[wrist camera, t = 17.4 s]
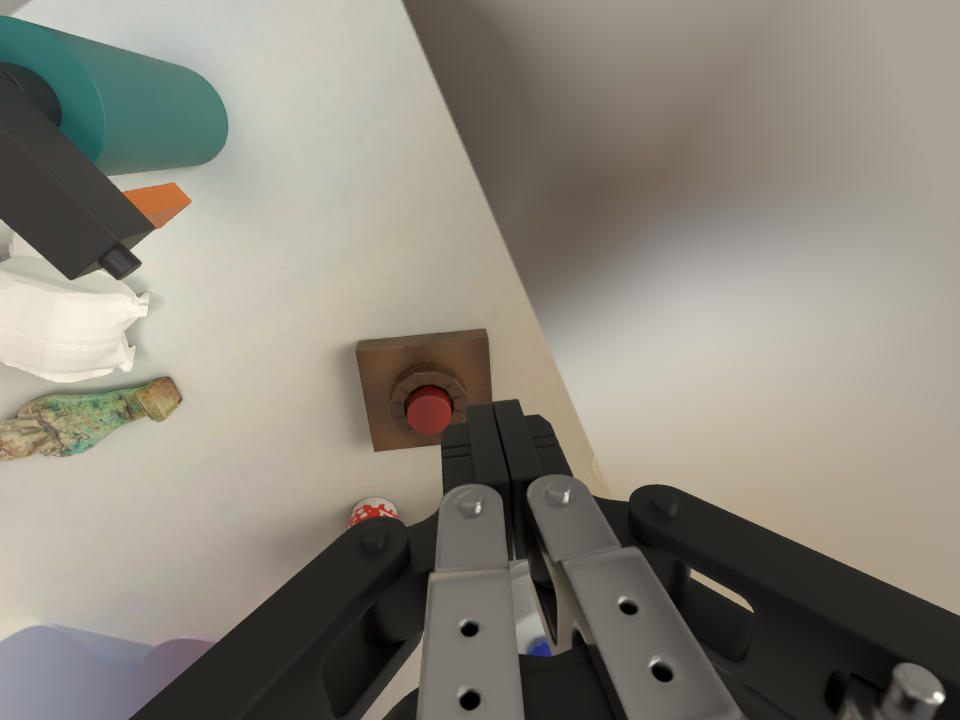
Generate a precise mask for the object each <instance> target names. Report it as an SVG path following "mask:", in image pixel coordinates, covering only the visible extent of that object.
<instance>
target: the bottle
mask: <svg viewBox="0 0 960 720" xmlns="http://www.w3.org/2000/svg"><path fill="white" fill-rule="evenodd" d="M513 560H514V561H509V567H510V575H511V585H512V596H513V606H514V616H515V626H516V636H517V647H518V654H527V655H536V656H546V657H550V656H552V653H551V650H550V647H549V644H548V641H547V638H546V635H545V632H544V629H543V626H542V623H541V620H540V616H539V613H538V610H537V607H536V604H535V601H534V598H533V595H532V592H531V588H530V572H529V565H528V561H527V559H522V560H516V556H515V552H514V547H513Z"/></svg>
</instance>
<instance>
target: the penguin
mask: <svg viewBox="0 0 960 720" xmlns="http://www.w3.org/2000/svg"><path fill="white" fill-rule="evenodd" d="M9 252H10V258H11V259H8V260H5V261H2V262H0V361H1V363H3V364H5V365H7V366H14V367H17V368H19V369H21V370H24V371H27V372H29V373H32V374H34V375H37V376H38V377H41V378H44V379H46V380H50V381H53V382H57V383H61V382H65V383H69V382H77V381H82V380H87V379H90V378H95V377H100V376H104V375H107V374H110V373H112V372H113V371H114V369H115V368H117V367H118V368H121V370H123V371H126V372H129V371H130V370H131V368H132V365H133V360H134V354H135V349H136V346H135V345H134V346H132V347H129V346H128V342H127V339H126V336H125V332H124V331H125V330H126V329H127V328H128V327H130V326H131V325H132V324H133V322H134V321H136V320H137V319H138V317H146V315H147V311H148V304H149V299H150V295H151V293H149V292H147V293H144V294H143V295H141V296H140V297H139V298H138V297H137V296H136V294H135V293H134V292H133V291H132V290H131V289H130V288H129V287H128V286H127V285H125V283H124V282H121V280H116V279H115V278H114V277H113V276H111V275H110V274H108V273H105V272H104V271H102V270H97V271H94V272H92V273H89V274H87V275H84V276H82V277H79V278H77V279H74V280H71V281H70V280H69V279H67V278H66V277H65V276H64V275H63V274H62V273H61V272H60V271H58V270H57V269H56V268H55V267H54V266H53V265H52V264H51V263H50V262H48V261H47V260H46V259H45V258H44V257H43V256H42V255H41V254H39V253H38V252H37V251H36V250H35V249H34V248H33V247H32V246H30V245H29V244H28V243H27V242H26V241H25V240H24V239H23V238H22V237H20V236H19V235H18V234H17V233H16V232H15V231H14V233H13V239H12V242H11V244H10V246H9Z"/></svg>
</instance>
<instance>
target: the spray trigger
mask: <svg viewBox="0 0 960 720" xmlns="http://www.w3.org/2000/svg"><path fill="white" fill-rule="evenodd" d="M122 193H123V194H124V195H125V196H126V197H127V198H128V199H129V200H130V201H131V202H132V203H133V204H134V205H135V206H136V207H137V208H138V209H139V210H140V212H141V213H142V214H143V215H144V216H145V217H146V218H147V219H148V220H149V221H150V222H151V223H152V224H153V225H154V226H155V227H156V228H155V229H154V230H156V229H159V228H161V227H162V226H163V225H165V224H166V223H167V222H168V221H169V220H171V219H172V218H173V217H174V216H175V215H177V214H178V213H179V212H180V211H181V210H183V209H184V208H185V207H186V206H187V205H189V204H190V203H191V202H192V201H191V200H190V199H189V198H188V197H187V196H186V195H185V194H184V192H183V191H182V190H181V189H180V188H179V187H178V186H177V185H176V184H175V183H170V184H164V185H158V186H153V187H147V188H142V189H136V190H131V191H125V192H122Z"/></svg>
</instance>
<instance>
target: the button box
mask: <svg viewBox="0 0 960 720" xmlns="http://www.w3.org/2000/svg"><path fill="white" fill-rule="evenodd" d="M356 355H357V361H358V366H359V372H360V377H361V382H362V388H363V393H364V399H365V404H366V410H367V415H368V421H369V426H370V432H371V437H372V443H373V448H374V452H378V451H387V450H396V449H405V448H414V447H423V446H432V445H441V434H442V432H443V431H444V429H443V430H442V431H440V432H438V433H435V434H423V433H420V432H418V431H416V430H414V429H413V428H412V427H411V426H410V424H409V422H408V420H407V405H408V400H409V398H410V396H411V395H412V393H413V392H415V391H416V390H418V389H419V388H422V387H427V386H431V387H436V388H439V389H441V390H443V391H444V392H445V393H446V394H447V396H448V397H449V400H450V405H451V420H450V422H449V424H455V423H464V422H466V417H465V405H467V404H476V403H486V402H490V403H491V407H492V388H491V373H490V357H489V341H488V336H487V332H486V329H479V330H469V331H458V332H448V333H438V334H428V335H417V336H407V337H397V338H386V339H376V340H366V341H359V343H358V346H357V349H356Z"/></svg>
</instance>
